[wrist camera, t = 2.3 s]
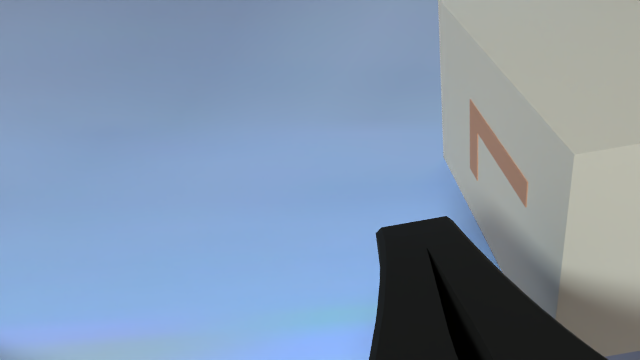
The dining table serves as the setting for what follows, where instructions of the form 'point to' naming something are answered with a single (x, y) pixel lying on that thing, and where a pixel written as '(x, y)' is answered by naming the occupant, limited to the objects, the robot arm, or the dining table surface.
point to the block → (551, 151)
